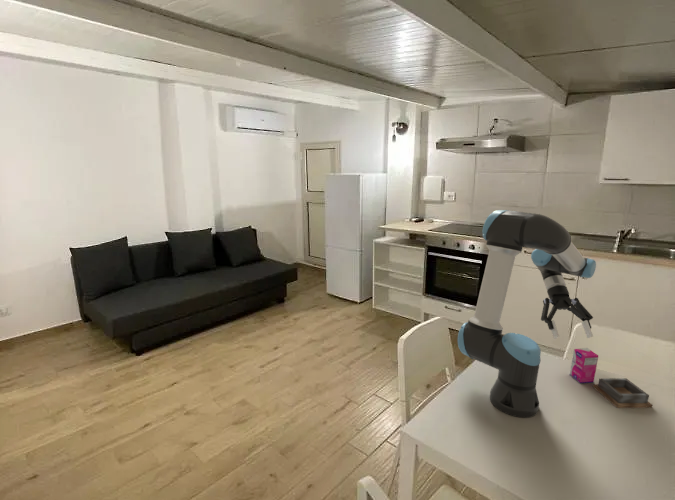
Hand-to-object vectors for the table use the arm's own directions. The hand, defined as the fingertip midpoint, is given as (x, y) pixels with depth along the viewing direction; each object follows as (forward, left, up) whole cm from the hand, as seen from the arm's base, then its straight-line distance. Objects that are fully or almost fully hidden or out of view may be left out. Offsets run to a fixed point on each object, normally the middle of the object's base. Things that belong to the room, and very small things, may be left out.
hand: (573, 337), depth 149 cm
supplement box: (-1, -9, -13) cm, 16 cm away
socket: (+6, -20, -13) cm, 24 cm away
